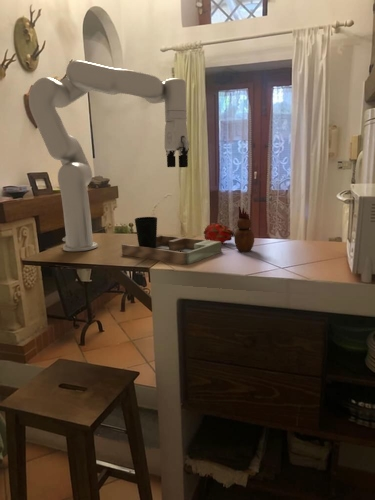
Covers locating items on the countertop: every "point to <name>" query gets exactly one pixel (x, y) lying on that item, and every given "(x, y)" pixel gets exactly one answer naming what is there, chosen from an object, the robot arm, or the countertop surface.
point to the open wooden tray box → (175, 249)
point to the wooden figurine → (244, 233)
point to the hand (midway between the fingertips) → (177, 167)
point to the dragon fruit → (218, 233)
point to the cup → (146, 231)
